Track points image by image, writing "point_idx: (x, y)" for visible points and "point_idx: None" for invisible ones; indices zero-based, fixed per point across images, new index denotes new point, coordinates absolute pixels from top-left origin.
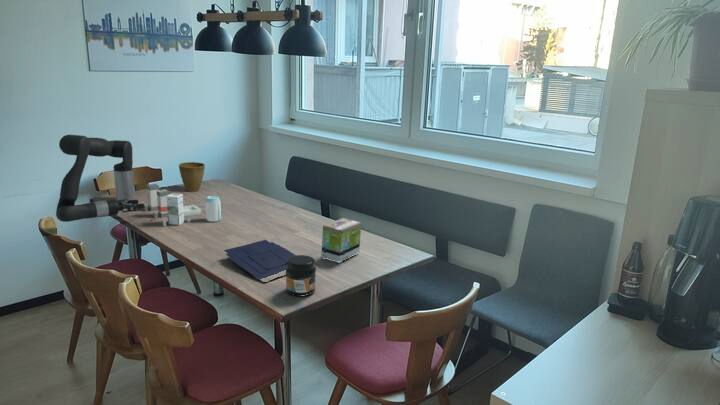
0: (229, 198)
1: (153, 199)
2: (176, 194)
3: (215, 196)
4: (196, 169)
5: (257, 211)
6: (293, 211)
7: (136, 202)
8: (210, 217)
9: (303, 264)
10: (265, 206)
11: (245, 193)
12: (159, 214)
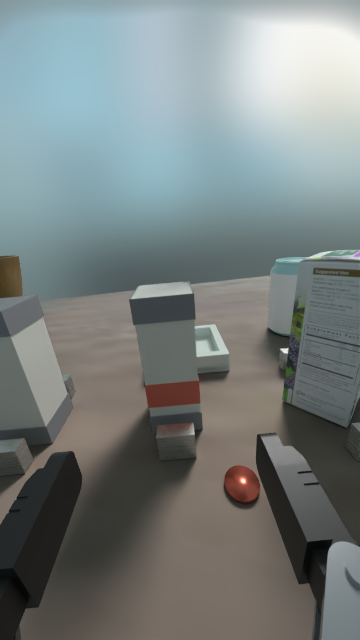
0: (126, 304)
1: (40, 380)
2: (341, 252)
3: (279, 260)
4: (11, 263)
5: (236, 294)
6: (253, 280)
7: (71, 488)
8: None
9: None
10: (210, 289)
11: (118, 294)
12: (173, 423)
